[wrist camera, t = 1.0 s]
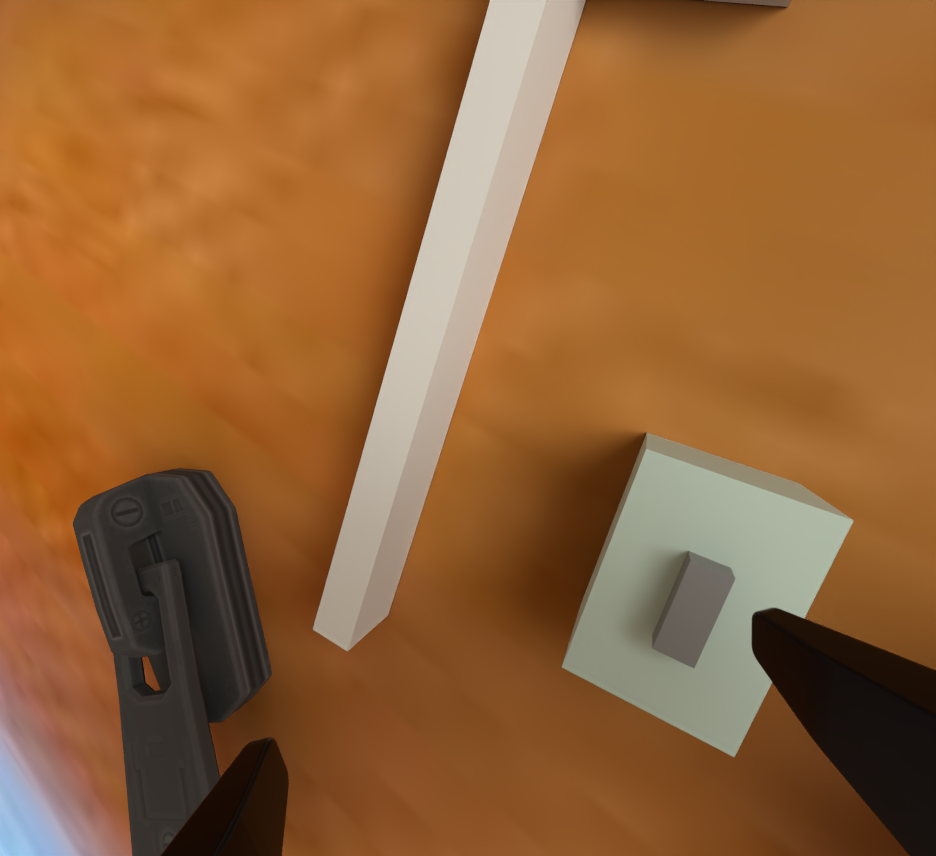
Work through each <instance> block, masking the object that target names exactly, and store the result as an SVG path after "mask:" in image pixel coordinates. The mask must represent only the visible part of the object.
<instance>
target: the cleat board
mask: <svg viewBox="0 0 936 856" xmlns="http://www.w3.org/2000/svg"><path fill="white" fill-rule="evenodd" d="M706 1H719V2H731V3H744V4H757V5H770V6H783V7H788V6H789V3H790V1H791V0H706ZM585 2H586V0H490V3H489V6H488V10H487V13H486V17H485V20H484V24H483V27H482V31H481V34H480V38H479V42H478V45H477V49H476V52H475V56H474V59H473V63H472V66H471V70H470V73H469V77H468V81H467V84H466V88H465V91H464V95H463V98H462V102H461V105H460V109H459V112H458V116H457V120H456V123H455V127H454V130H453V134H452V137H451V141H450V144H449V148H448V151H447V155H446V159H445V162H444V166H443V169H442V173H441V176H440V180H439V183H438V187H437V190H436V194H435V198H434V201H433V205H432V208H431V212H430V215H429V219H428V222H427V226H426V229H425V233H424V237H423V240H422V244H421V247H420V251H419V254H418V258H417V261H416V265H415V268H414V272H413V276H412V279H411V283H410V286H409V290H408V293H407V297H406V300H405V304H404V307H403V311H402V315H401V318H400V322H399V325H398V329H397V332H396V336H395V339H394V343H393V346H392V350H391V354H390V357H389V361H388V364H387V368H386V371H385V375H384V378H383V382H382V385H381V389H380V393H379V396H378V400H377V403H376V407H375V410H374V414H373V417H372V421H371V424H370V428H369V432H368V435H367V439H366V442H365V446H364V449H363V453H362V456H361V460H360V463H359V467H358V471H357V474H356V478H355V481H354V485H353V488H352V492H351V495H350V499H349V502H348V506H347V509H346V513H345V517H344V520H343V524H342V527H341V531H340V534H339V538H338V541H337V545H336V548H335V552H334V556H333V559H332V563H331V566H330V570H329V573H328V577H327V580H326V584H325V587H324V591H323V595H322V598H321V602H320V605H319V609H318V612H317V616H316V619H315V623H314V626H313V630H314V631H316V632H318V633H319V634H321V635H322V636H324V637H325V638H327V639H328V640H330V641H332V642H333V643H335V644H336V645H338V646H339V647H341V648H343V649H344V650H346V651H347V652H348V651H349V650H350V649H351V648H352V647H353V646H354V645H355V644H357V643H358V642H359V641H360V640H361V639H362V638H363V637H364V636H365V635H367V634H368V633H369V632H370V631H371V630H372V629H373V628H374V627H375V626H377V625H378V624H379V623H380V622H381V621H382V620H383V619H384V618H385V617H387V616H388V614H389V611H390V608H391V605H392V602H393V599H394V596H395V593H396V590H397V586H398V583H399V580H400V577H401V574H402V571H403V568H404V565H405V562H406V558H407V555H408V552H409V549H410V546H411V543H412V540H413V537H414V534H415V530H416V527H417V524H418V521H419V518H420V515H421V512H422V509H423V506H424V503H425V499H426V496H427V493H428V490H429V487H430V484H431V481H432V478H433V475H434V471H435V468H436V465H437V462H438V459H439V456H440V453H441V450H442V447H443V444H444V440H445V437H446V434H447V431H448V428H449V425H450V422H451V419H452V416H453V412H454V409H455V406H456V403H457V400H458V397H459V394H460V391H461V388H462V384H463V381H464V378H465V375H466V372H467V369H468V366H469V363H470V360H471V357H472V353H473V350H474V347H475V344H476V341H477V338H478V335H479V332H480V329H481V325H482V322H483V319H484V316H485V313H486V310H487V307H488V304H489V301H490V297H491V294H492V291H493V288H494V285H495V282H496V279H497V276H498V273H499V270H500V266H501V263H502V260H503V257H504V254H505V251H506V248H507V245H508V242H509V238H510V235H511V232H512V229H513V226H514V223H515V220H516V217H517V214H518V210H519V207H520V204H521V201H522V198H523V195H524V192H525V189H526V186H527V183H528V179H529V176H530V173H531V170H532V167H533V164H534V161H535V158H536V155H537V151H538V148H539V145H540V142H541V139H542V136H543V133H544V130H545V127H546V123H547V120H548V117H549V114H550V111H551V108H552V105H553V102H554V99H555V96H556V92H557V89H558V86H559V83H560V80H561V77H562V74H563V71H564V68H565V64H566V61H567V58H568V55H569V52H570V49H571V46H572V43H573V40H574V36H575V33H576V30H577V27H578V24H579V21H580V18H581V15H582V12H583V9H584V5H585Z"/></svg>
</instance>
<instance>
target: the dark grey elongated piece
mask: <svg viewBox="0 0 936 856" xmlns="http://www.w3.org/2000/svg"><path fill="white" fill-rule="evenodd" d="M73 527H74V531H75V534H76V538H77V542H78V546H79V550H80V553H81V557H82V561H83V565H84V568H85V572H86V575H87V579H88V582H89V586H90V589H91V593H92V596H93V600H94V603H95V607H96V610H97V613H98V616H99V619H100V621H101V624H102V627H103V630H104V633H105V635H106V638H107V641H108V644H109V646H110V649H111V651H112V653H113V655H114V663H115V671H116V679H117V687H118V695H119V704H120V715H121V727H122V739H123V750H124V762H125V773H126V785H127V797H128V808H129V820H130V831H131V843H132V855H133V856H160V855H161V854H162V852H163V851H164V850H165V848H166V847H167V846H168V845H169V843H170V842H171V841H172V840H173V838H174V837H175V836H176V834H177V833H178V832H179V831H180V829H181V828H182V827H183V825H184V824H185V823H186V822H187V820H188V819H189V818H190V816H191V815H192V814H193V813H194V811H195V810H196V809H197V807H198V806H199V805H200V804H201V802H202V801H203V800H204V798H205V797H206V796H207V795H208V793H209V792H210V791H211V790H212V788H213V787H214V786H215V784H216V783H217V782H218V781H219V779H220V774H219V769H218V765H217V760H216V755H215V750H214V746H213V741H212V736H211V731H210V727H209V723H214V722H222V721H224V720H225V719H226V718H228V717H229V716H230V715H231V714H233V713H234V712H235V711H236V710H238V709H239V708H240V707H241V706H243V705H244V704H245V703H246V702H248V701H249V700H250V699H251V698H252V697H253V696H254V695H255V694H256V693H257V692H258V690H259V689H260V688H261V687H262V686H263V685H264V684H265V682H266V681H267V680H268V679H269V678H270V676H271V675H272V672H271V665H270V661H269V656H268V652H267V648H266V643H265V639H264V634H263V630H262V626H261V621H260V617H259V612H258V608H257V604H256V599H255V595H254V590H253V586H252V582H251V577H250V573H249V568H248V564H247V560H246V555H245V550H244V546H243V541H242V536H241V531H240V527H239V522H238V517H237V512H236V508H235V506H234V505H233V503H232V502H231V500H230V499H229V497H228V496H227V494H226V493H225V492H224V490H223V489H222V487H221V486H220V484H219V483H218V481H217V480H216V478H215V477H214V475H213V474H212V473H211V472H210V471H204V470H192V469H181V468H179V469H173V470H168V471H163V472H157V473H152V474H146V475H144V476H141V477H139V478H136V479H134V480H131V481H129V482H127V483H124V484H122V485H119V486H117V487H115V488H112V489H110V490H108V491H105V492H103V493H100V494H98V495H96V496H93V497H92V498H90V499H89V500H87V501H86V502H84V503H83V504H82V505H81V506H80V507H79V509H78V512H77V514H76V516H75V519H74V522H73ZM145 656H148V658H149V660H150V663H151V666H152V668H153V671H154V674H155V676H156V679H157V682H158V684H159V687H160V689H161V690H159V691H155V690H153V689H152V688H151V687H150V686H149V685H148V684H146V682H145V675H144V668H143V661H142V657H145Z"/></svg>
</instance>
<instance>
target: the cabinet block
mask: <svg viewBox="0 0 936 856" xmlns="http://www.w3.org/2000/svg"><path fill="white" fill-rule="evenodd" d="M853 521H854V520H852V519H851V518H849V517H848V516H846V515H845V514H843V513H842V512H840V511H839V510H837V509H836V508H834V507H833V506H832V505H830V504H829V503H827V502H826V501H824V500H823V499H821V498H820V497H818V496H817V495H815V494H814V493H812V492H811V491H810V490H808V489H807V488H805V487H804V486H802V485H801V484H799V483H796V482H793V481H790V480H787V479H784V478H781V477H778V476H775V475H772V474H769V473H766V472H763V471H760V470H757V469H755V468H752V467H749V466H746V465H743V464H740V463H737V462H734V461H731V460H728V459H725V458H722V457H719V456H716V455H713V454H710V453H707V452H704V451H701V450H698V449H695V448H692V447H689V446H686V445H683V444H680V443H677V442H674V441H671V440H668V439H665V438H662V437H659V436H656V435H653V434H650V433H646V436H645V438H644V441H643V444H642V446H641V449H640V451H639V454H638V457H637V459H636V462H635V464H634V467H633V470H632V472H631V475H630V477H629V480H628V483H627V485H626V488H625V490H624V493H623V496H622V498H621V501H620V503H619V506H618V509H617V511H616V514H615V516H614V519H613V522H612V524H611V527H610V529H609V532H608V535H607V537H606V540H605V542H604V545H603V547H602V550H601V553H600V555H599V558H598V560H597V563H596V566H595V568H594V571H593V573H592V576H591V579H590V581H589V584H588V586H587V589H586V592H585V594H584V597H583V599H582V602H581V605H580V608H579V611H578V615H577V618H576V621H575V625H574V628H573V631H572V634H571V638H570V641H569V644H568V648H567V651H566V654H565V657H564V661H563V664H562V668H564V669H566V670H568V671H569V672H571V673H573V674H575V675H577V676H579V677H581V678H583V679H585V680H587V681H589V682H591V683H593V684H594V685H596V686H598V687H600V688H602V689H604V690H606V691H608V692H610V693H612V694H614V695H616V696H617V697H619V698H621V699H623V700H625V701H627V702H629V703H631V704H633V705H635V706H637V707H639V708H640V709H642V710H644V711H646V712H648V713H650V714H652V715H654V716H656V717H658V718H660V719H662V720H664V721H665V722H667V723H669V724H671V725H673V726H675V727H677V728H679V729H681V730H683V731H685V732H687V733H688V734H690V735H692V736H694V737H696V738H698V739H700V740H702V741H704V742H706V743H708V744H710V745H711V746H713V747H715V748H717V749H719V750H721V751H723V752H725V753H727V754H729V755H731V756H733V757H735V755H736V753H737V751H738V749H739V747H740V745H741V743H742V741H743V739H744V737H745V735H746V733H747V731H748V729H749V727H750V725H751V723H752V721H753V719H754V717H755V715H756V713H757V711H758V709H759V707H760V705H761V703H762V701H763V699H764V697H765V696H766V694H767V692H768V690H769V688H770V686H771V684H772V681H771V680H770V678H769V677H768V675H767V674H766V673H765V671H764V670H763V668H762V667H761V666H760V664H759V663H758V661H757V660H756V658H755V656H754V654H753V651H752V646H751V636H752V615H753V614H754V612H756V611H760V610H764V609H768V608H778V609H781V610H784V611H786V612H789V613H792V614H794V615H797V616H799V617H802V618H805V616H806V614H807V612H808V610H809V608H810V606H811V604H812V602H813V600H814V598H815V596H816V594H817V592H818V590H819V588H820V586H821V584H822V582H823V580H824V578H825V576H826V574H827V572H828V570H829V568H830V566H831V564H832V562H833V560H834V558H835V557H836V555H837V553H838V551H839V549H840V547H841V545H842V543H843V541H844V539H845V537H846V535H847V533H848V531H849V529H850V527H851V525H852V523H853Z"/></svg>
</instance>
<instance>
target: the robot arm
mask: <svg viewBox="0 0 936 856" xmlns="http://www.w3.org/2000/svg"><path fill="white" fill-rule="evenodd" d="M751 646H752V651H753V654H754V656H755V658H756V660H757V661H758V663H759V664H760V666H761V667H762V668H763V670H764V671H765V673H766V674H767V675H768V677H769V678H770V680H771V681H772V683H773V684H774V685H775V687H776V688H777V690H778V691H779V692H780V694H781V695H782V697H783V698H784V699H785V701H786V702H787V704H788V705H789V707H790V708H791V709H792V711H793V712H794V714H795V715H796V716H797V718H798V719H799V721H800V722H801V724H802V725H803V726H804V728H805V729H806V730H807V732H808V733H809V735H810V736H811V737H812V739H813V740H814V741H815V742H816V744H817V745H818V746H819V747H820V749H821V750H822V751H823V752H824V754H825V755H826V756H827V757H828V758H829V760H830V761H831V762H832V763H833V764H834V766H835V767H836V768H837V769H838V770H839V772H840V773H841V774H842V775H843V776H844V778H845V779H846V780H847V781H848V782H849V784H850V785H851V786H852V787H853V788H854V790H855V791H856V792H857V793H858V794H859V795H860V797H861V798H862V799H863V800H864V801H865V803H866V804H867V805H868V806H869V807H870V809H871V810H872V811H873V812H874V813H875V815H876V816H877V817H878V818H879V819H880V821H881V822H882V823H883V824H884V825H885V827H886V828H887V829H888V830H889V831H890V833H891V834H892V835H893V836H894V837H895V839H896V840H897V841H898V842H899V843H900V844H901V846H902V847H903V848H904V849H905V850H906V852H907V853H908V854H909V855H910V856H936V670H934V669H931V668H929V667H926V666H924V665H921V664H918V663H916V662H913V661H911V660H908V659H906V658H903V657H901V656H898V655H896V654H893V653H891V652H888V651H885V650H883V649H880V648H878V647H875V646H873V645H870V644H868V643H865V642H863V641H860V640H858V639H855V638H852V637H850V636H847V635H845V634H842V633H840V632H837V631H835V630H832V629H830V628H827V627H825V626H822V625H819V624H817V623H814V622H812V621H809V620H807V619H804V618H802V617H799V616H797V615H794V614H792V613H789V612H786V611H784V610H781V609H778V608H768V609H764V610H760V611H756V612H754V614H753V615H752V636H751ZM288 786H289V779H288V771H287V768H286V766H285V763H284V760H283V758H282V755H281V753H280V750H279V748H278V745H277V743H276V741H275V739H273V738H270V737H269V738H265V739H261V740H257V741H253V742H250V743H249V744H247V745H246V746H245V747H244V748H243V750H242V751H241V752H240V754H239V755H238V756H237V757H236V759H235V760H234V761H233V763H232V764H231V765H230V766H229V768H228V769H227V770H226V772H225V773H224V774H223V775H222V777H221V778H220V779H219V781H218V782H217V783H216V784H215V786H214V787H213V788H212V790H211V791H210V792H209V793H208V795H207V796H206V797H205V798H204V800H203V801H202V802H201V804H200V805H199V806H198V807H197V809H196V810H195V811H194V813H193V814H192V815H191V816H190V818H189V819H188V820H187V822H186V823H185V824H184V825H183V827H182V828H181V829H180V831H179V832H178V833H177V834H176V836H175V837H174V838H173V840H172V841H171V842H170V843H169V845H168V846H167V847H166V848H165V850H164V851H163V852H162V854H161V855H160V856H282V847H283V837H284V827H285V817H286V807H287V797H288Z"/></svg>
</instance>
